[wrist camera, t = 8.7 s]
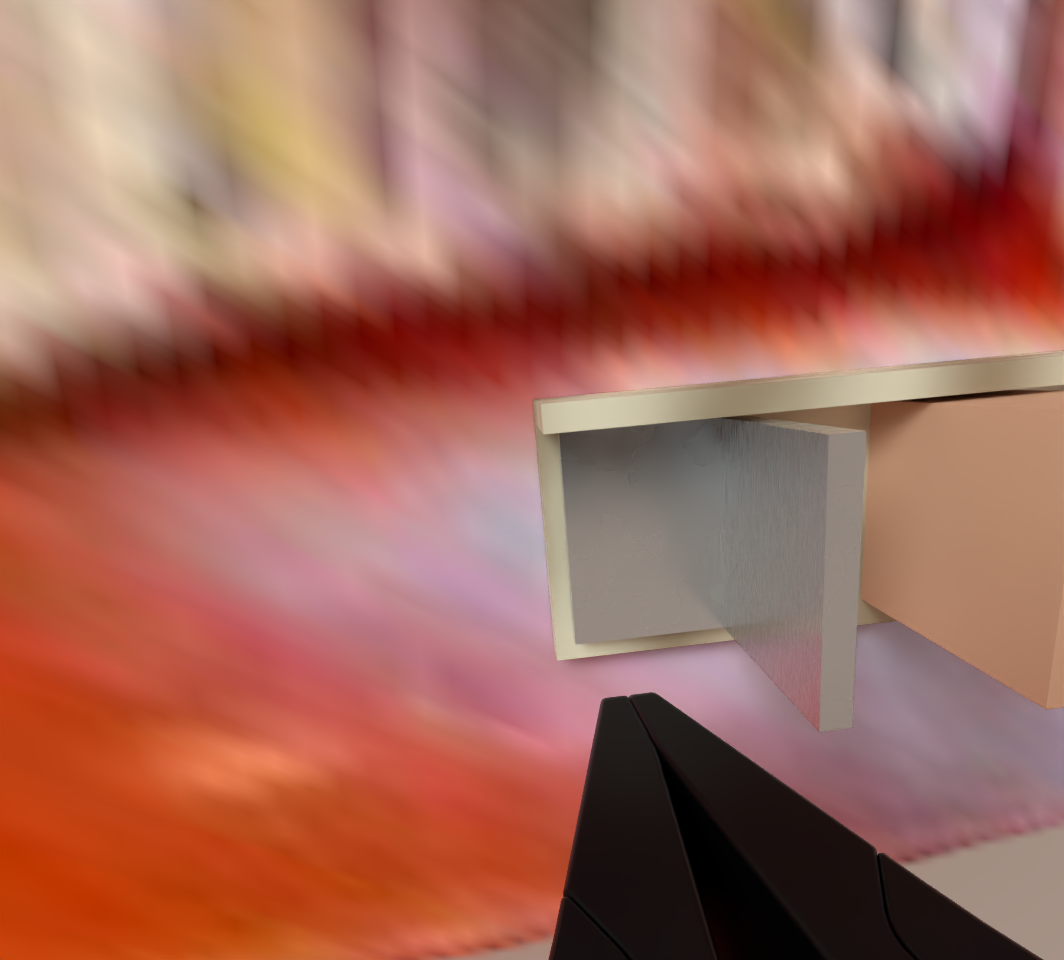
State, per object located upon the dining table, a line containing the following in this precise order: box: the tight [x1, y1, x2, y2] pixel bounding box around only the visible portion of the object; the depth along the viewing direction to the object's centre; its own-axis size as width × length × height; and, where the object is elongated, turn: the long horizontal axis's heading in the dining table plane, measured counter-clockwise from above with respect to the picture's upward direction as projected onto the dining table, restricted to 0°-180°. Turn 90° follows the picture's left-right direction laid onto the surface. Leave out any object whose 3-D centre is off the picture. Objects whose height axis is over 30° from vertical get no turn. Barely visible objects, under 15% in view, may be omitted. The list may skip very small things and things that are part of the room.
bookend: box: [557, 415, 866, 732], centre depth 13 cm, size 6×7×6 cm
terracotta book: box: [861, 390, 1064, 709], centre depth 14 cm, size 4×7×6 cm, turn 5°
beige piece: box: [532, 351, 1064, 661], centre depth 14 cm, size 26×9×8 cm, turn 95°
